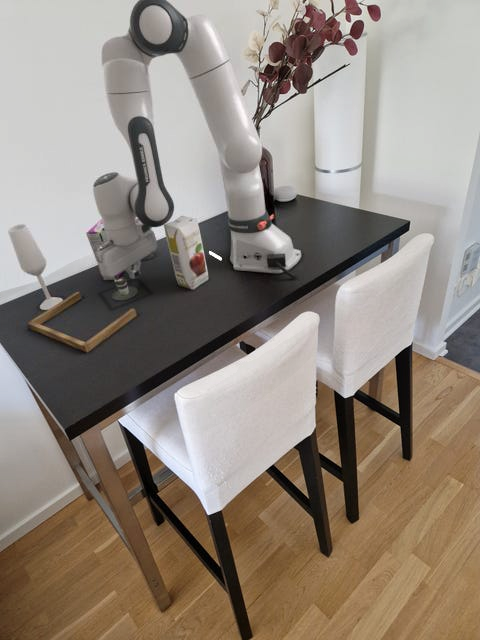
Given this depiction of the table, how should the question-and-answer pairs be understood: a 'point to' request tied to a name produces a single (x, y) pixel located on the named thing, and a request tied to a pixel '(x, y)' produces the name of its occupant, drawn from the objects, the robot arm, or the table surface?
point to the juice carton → (186, 251)
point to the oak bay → (71, 341)
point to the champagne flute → (31, 259)
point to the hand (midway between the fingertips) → (135, 276)
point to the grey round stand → (123, 290)
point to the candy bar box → (99, 242)
